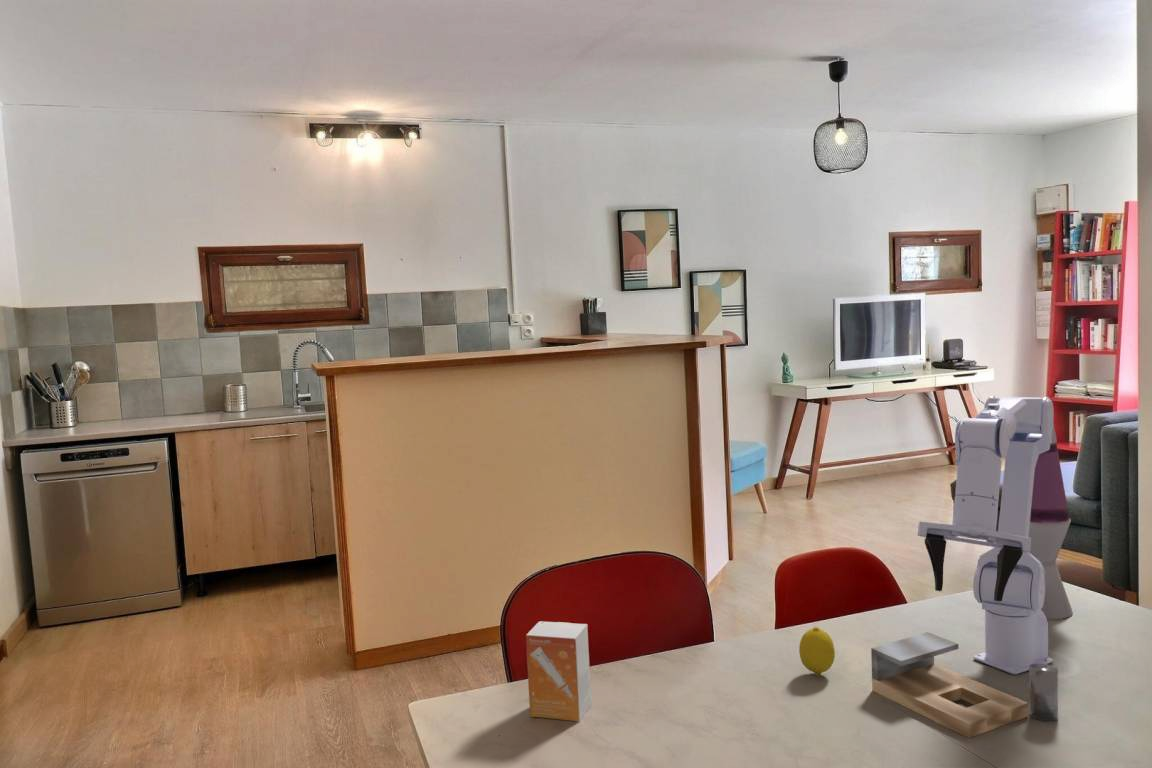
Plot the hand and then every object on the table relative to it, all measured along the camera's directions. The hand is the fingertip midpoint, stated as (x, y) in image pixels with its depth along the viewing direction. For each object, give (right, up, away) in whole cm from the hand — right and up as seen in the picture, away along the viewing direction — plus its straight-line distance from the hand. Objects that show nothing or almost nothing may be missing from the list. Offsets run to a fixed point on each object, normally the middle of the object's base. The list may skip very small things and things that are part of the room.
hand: (967, 595), depth 125 cm
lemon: (-15, -18, +21) cm, 32 cm away
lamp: (+33, -13, +44) cm, 57 cm away
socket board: (+1, -18, +9) cm, 20 cm away
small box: (-57, -21, +13) cm, 62 cm away
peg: (+12, -18, +3) cm, 22 cm away
